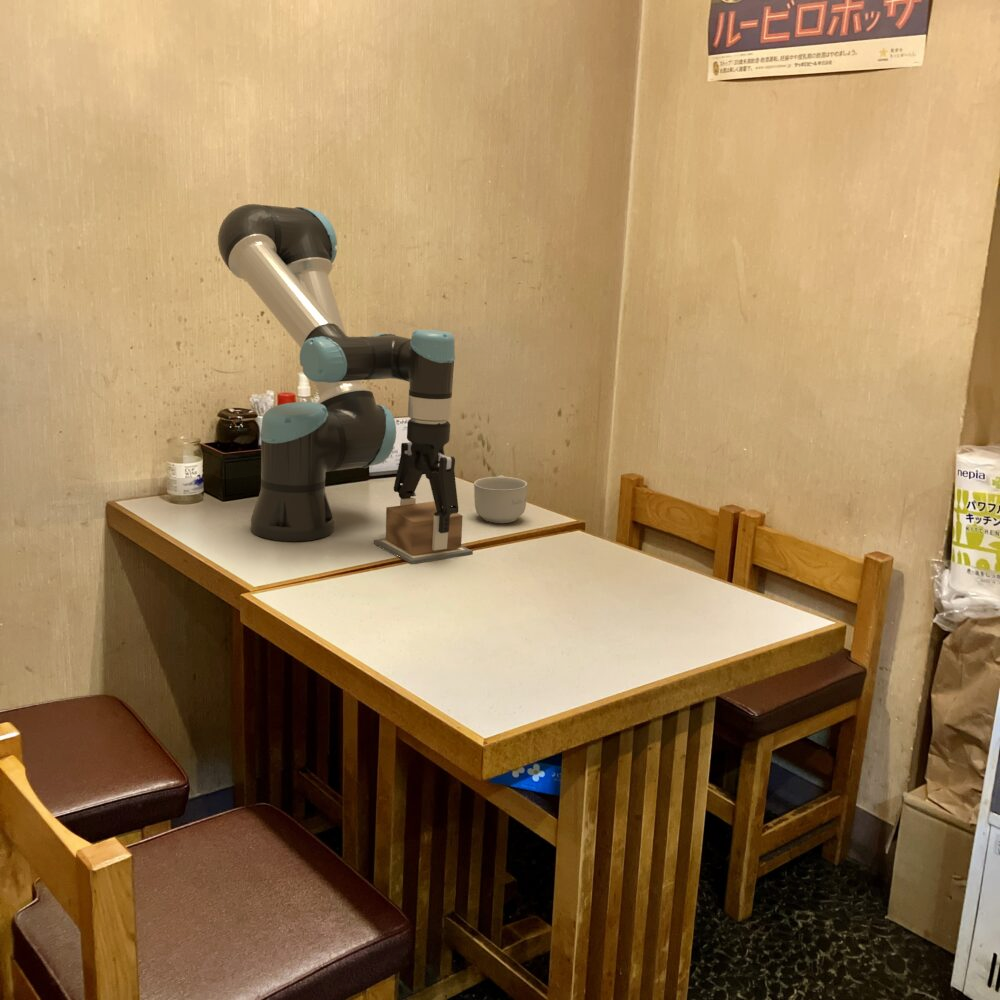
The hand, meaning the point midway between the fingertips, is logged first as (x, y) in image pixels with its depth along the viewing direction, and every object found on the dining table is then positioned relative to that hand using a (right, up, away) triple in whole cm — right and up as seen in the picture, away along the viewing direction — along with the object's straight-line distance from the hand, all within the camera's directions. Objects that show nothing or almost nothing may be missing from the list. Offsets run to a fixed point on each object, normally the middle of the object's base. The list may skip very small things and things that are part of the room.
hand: (422, 540), depth 181 cm
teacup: (+14, +4, +24) cm, 28 cm away
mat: (0, -2, 0) cm, 1 cm away
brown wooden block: (0, -1, 0) cm, 0 cm away
